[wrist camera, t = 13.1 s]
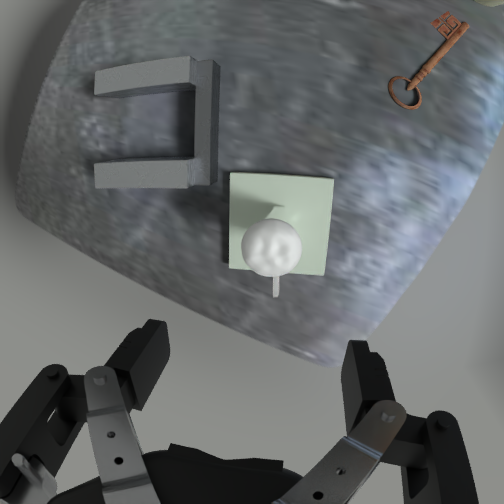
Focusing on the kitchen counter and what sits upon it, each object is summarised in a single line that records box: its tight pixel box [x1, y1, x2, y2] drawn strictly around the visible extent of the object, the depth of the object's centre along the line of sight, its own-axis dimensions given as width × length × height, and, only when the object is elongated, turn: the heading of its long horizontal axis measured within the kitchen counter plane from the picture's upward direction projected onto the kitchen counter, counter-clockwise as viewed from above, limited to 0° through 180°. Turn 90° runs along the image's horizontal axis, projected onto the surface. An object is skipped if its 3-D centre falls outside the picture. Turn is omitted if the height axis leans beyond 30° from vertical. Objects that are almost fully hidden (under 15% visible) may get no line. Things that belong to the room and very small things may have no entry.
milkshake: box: [241, 205, 302, 298], centre depth 27 cm, size 4×5×10 cm
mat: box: [229, 172, 334, 276], centre depth 32 cm, size 10×10×1 cm
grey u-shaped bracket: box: [94, 56, 220, 189], centre depth 28 cm, size 12×12×5 cm
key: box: [388, 12, 469, 110], centre depth 23 cm, size 6×1×15 cm
